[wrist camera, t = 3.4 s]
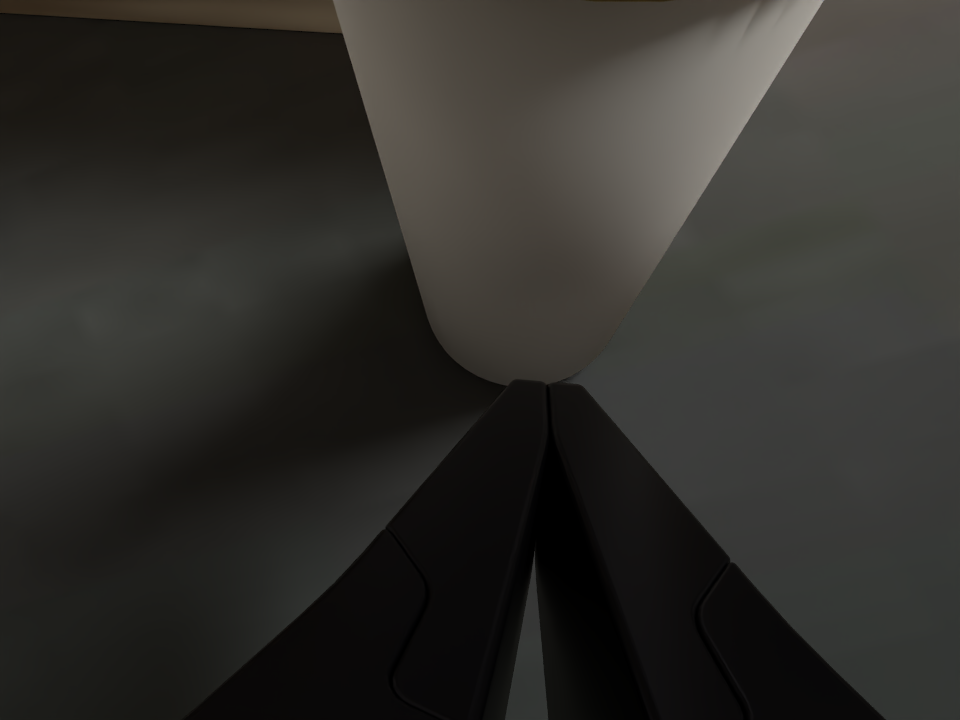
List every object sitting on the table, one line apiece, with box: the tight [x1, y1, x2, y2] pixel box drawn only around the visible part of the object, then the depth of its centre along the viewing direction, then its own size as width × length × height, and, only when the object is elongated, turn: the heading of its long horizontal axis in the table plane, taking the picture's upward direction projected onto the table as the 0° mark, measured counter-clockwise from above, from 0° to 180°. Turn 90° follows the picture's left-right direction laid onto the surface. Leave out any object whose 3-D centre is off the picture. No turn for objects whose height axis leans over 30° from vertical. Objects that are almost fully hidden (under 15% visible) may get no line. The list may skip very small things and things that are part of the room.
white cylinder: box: [333, 0, 824, 386], centre depth 9 cm, size 5×5×14 cm
